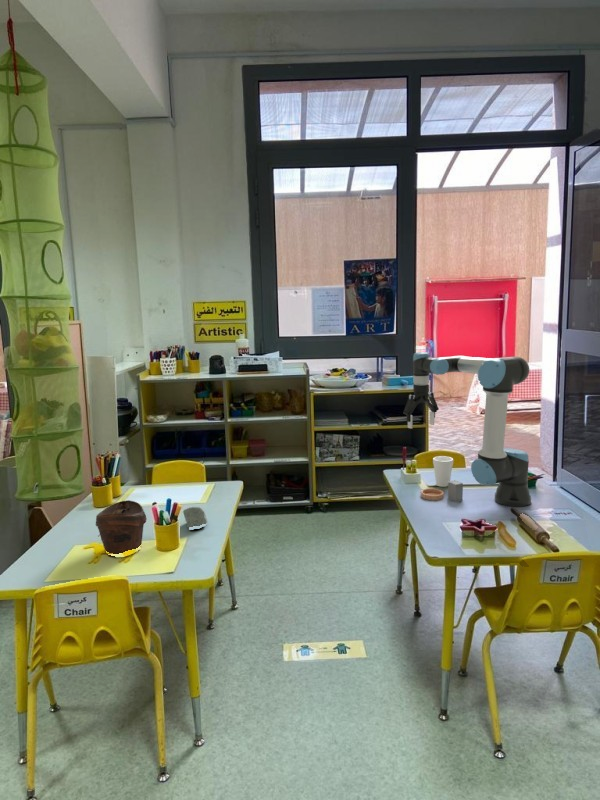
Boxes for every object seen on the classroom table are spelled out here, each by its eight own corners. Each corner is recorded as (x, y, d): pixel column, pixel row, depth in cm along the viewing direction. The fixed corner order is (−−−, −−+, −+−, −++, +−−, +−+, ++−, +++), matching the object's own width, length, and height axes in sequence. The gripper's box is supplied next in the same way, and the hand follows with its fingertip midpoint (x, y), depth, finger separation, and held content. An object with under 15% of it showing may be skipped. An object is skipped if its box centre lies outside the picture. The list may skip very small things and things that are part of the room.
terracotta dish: (448, 497, 253) (448, 493, 253) (430, 501, 249) (430, 497, 248) (433, 491, 262) (433, 487, 262) (416, 495, 258) (416, 490, 257)
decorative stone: (203, 534, 221) (211, 510, 225) (176, 525, 221) (186, 501, 224) (203, 537, 233) (211, 514, 237) (178, 529, 233) (187, 506, 236)
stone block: (462, 500, 249) (462, 483, 248) (455, 501, 248) (456, 484, 246) (454, 497, 254) (455, 480, 252) (447, 498, 252) (448, 481, 251)
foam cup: (429, 482, 274) (429, 457, 272) (445, 480, 277) (446, 455, 274) (439, 488, 265) (439, 462, 263) (456, 486, 268) (457, 460, 266)
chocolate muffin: (136, 534, 222) (131, 492, 219) (157, 551, 207) (153, 506, 203) (91, 548, 211) (85, 504, 208) (110, 567, 196) (104, 519, 192)
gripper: (436, 380, 282) (435, 421, 285) (395, 385, 271) (396, 428, 274) (446, 382, 275) (445, 424, 279) (405, 387, 264) (405, 430, 268)
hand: (421, 426), depth 276 cm, fingers open, 13 cm apart
